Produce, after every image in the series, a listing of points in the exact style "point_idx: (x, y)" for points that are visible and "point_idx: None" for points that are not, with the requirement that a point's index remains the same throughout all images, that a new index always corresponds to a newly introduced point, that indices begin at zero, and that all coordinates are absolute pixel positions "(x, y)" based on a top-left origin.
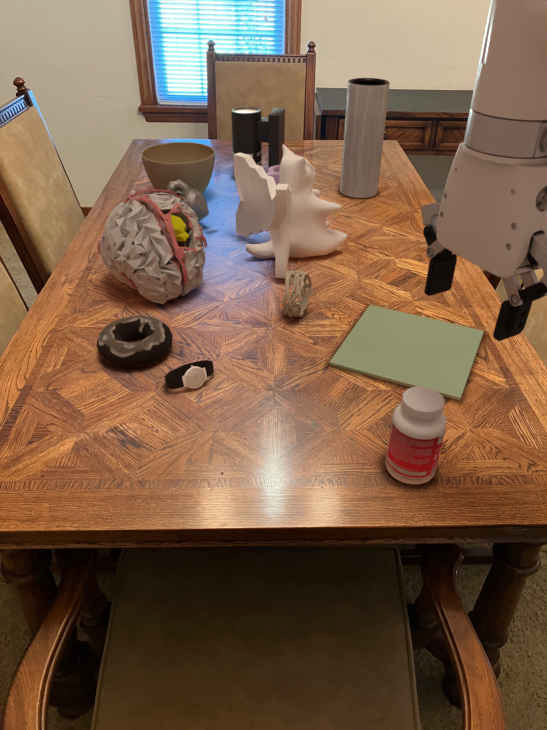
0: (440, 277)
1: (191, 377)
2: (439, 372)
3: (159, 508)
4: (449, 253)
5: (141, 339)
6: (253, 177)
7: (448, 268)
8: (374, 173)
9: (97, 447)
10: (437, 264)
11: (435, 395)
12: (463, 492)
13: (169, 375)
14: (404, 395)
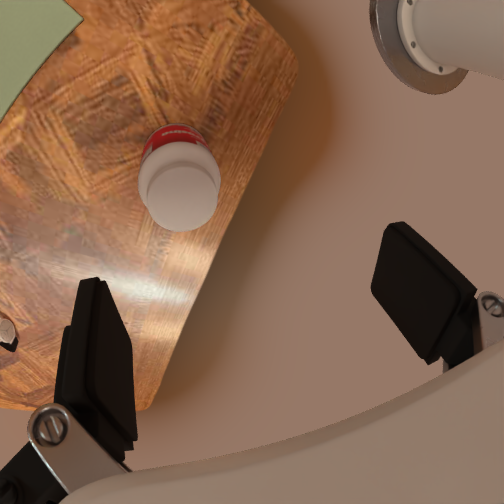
0: (122, 370)
1: (8, 335)
2: (21, 25)
3: (153, 359)
4: (103, 437)
5: None
6: None
7: (109, 376)
8: None
9: None
10: (132, 432)
11: (182, 178)
12: (235, 113)
13: (2, 343)
14: (163, 225)
